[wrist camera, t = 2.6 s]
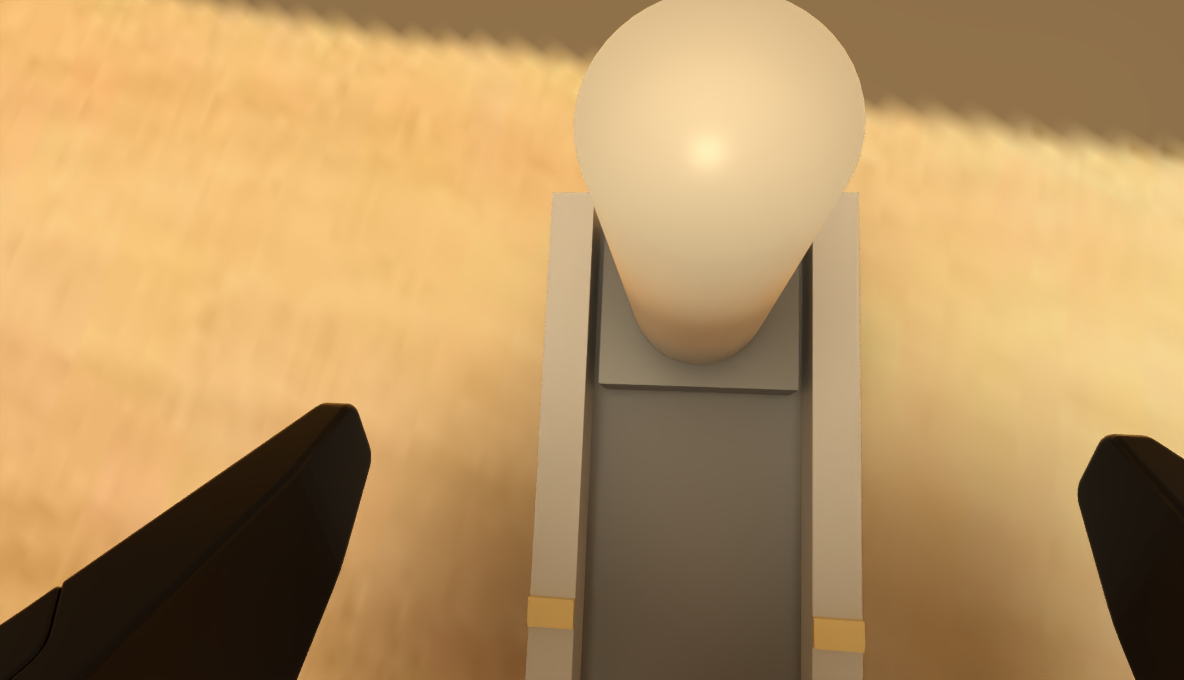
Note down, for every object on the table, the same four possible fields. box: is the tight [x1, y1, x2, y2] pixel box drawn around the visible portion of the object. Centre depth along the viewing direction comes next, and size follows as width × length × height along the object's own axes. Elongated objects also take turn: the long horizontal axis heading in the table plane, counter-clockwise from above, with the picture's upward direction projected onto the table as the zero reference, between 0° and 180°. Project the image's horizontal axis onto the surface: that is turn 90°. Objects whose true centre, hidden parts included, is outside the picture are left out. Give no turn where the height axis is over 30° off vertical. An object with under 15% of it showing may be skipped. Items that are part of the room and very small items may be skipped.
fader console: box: [525, 193, 865, 680], centre depth 17 cm, size 20×7×4 cm, turn 177°
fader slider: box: [574, 0, 866, 395], centre depth 13 cm, size 4×4×10 cm
